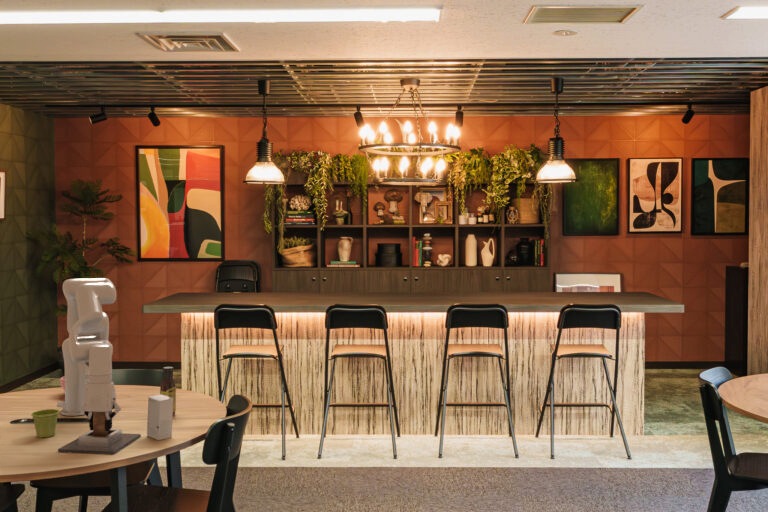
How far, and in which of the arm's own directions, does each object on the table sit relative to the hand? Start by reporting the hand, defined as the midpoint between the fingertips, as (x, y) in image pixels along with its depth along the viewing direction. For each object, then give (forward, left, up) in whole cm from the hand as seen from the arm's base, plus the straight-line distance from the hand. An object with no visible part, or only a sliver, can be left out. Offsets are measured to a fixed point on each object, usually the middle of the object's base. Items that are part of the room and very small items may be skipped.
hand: (100, 429), depth 242 cm
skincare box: (+17, +11, -6) cm, 21 cm away
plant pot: (-25, +7, -6) cm, 26 cm away
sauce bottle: (+8, +39, -6) cm, 40 cm away
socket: (0, 0, -5) cm, 5 cm away
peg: (0, 0, -3) cm, 3 cm away
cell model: (-46, +68, -6) cm, 82 cm away
